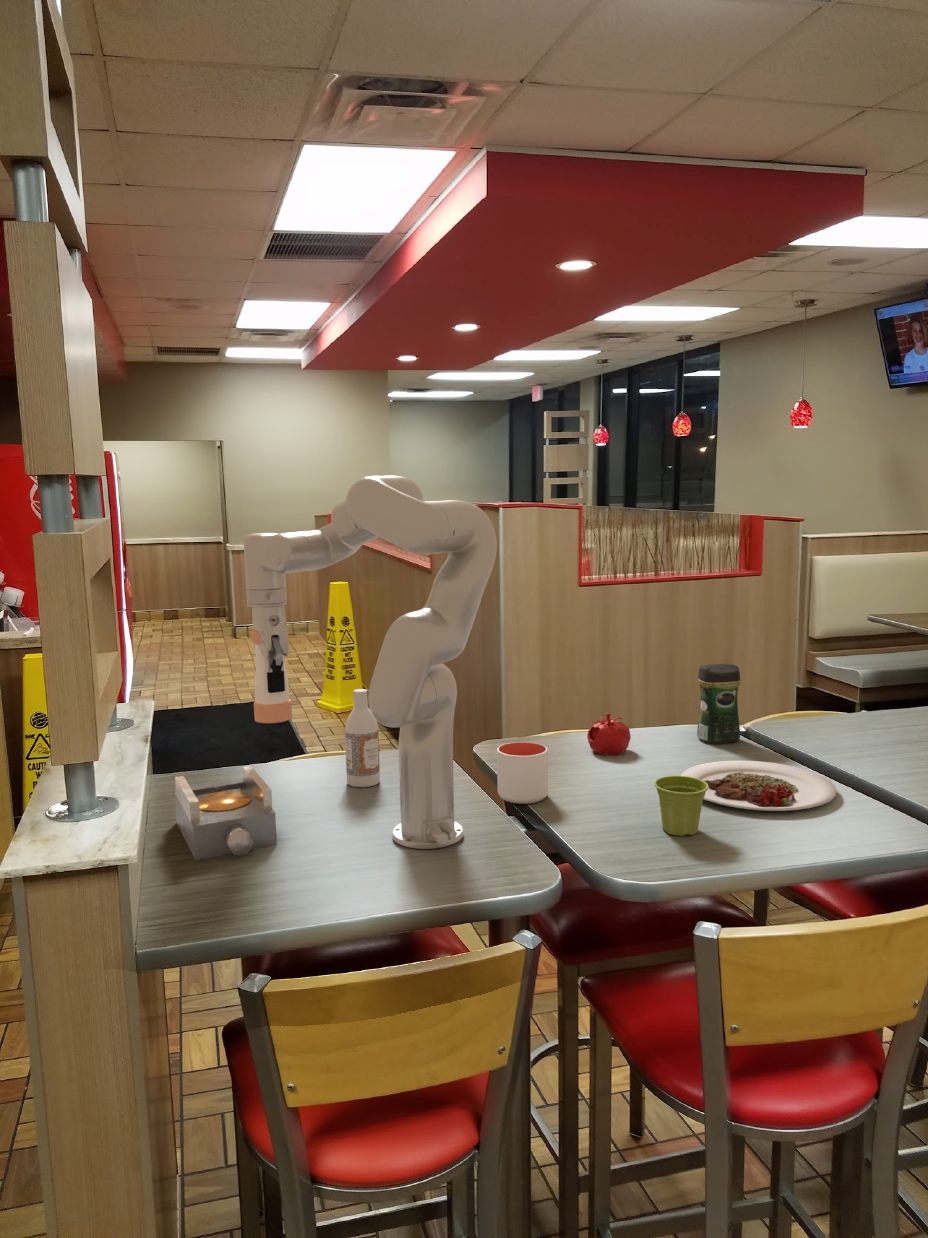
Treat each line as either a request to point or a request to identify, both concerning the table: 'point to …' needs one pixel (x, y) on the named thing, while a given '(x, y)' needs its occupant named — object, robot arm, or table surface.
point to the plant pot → (680, 803)
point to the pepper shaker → (266, 703)
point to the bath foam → (362, 744)
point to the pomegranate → (609, 736)
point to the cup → (522, 772)
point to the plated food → (762, 785)
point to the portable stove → (226, 815)
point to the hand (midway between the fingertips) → (271, 687)
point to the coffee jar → (718, 703)
